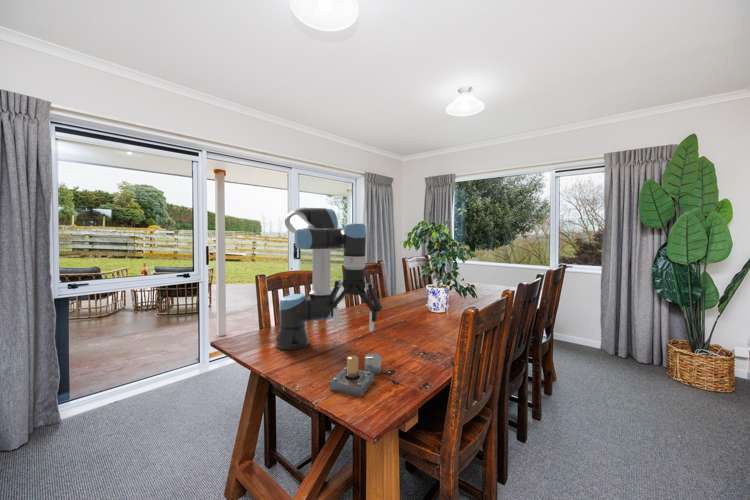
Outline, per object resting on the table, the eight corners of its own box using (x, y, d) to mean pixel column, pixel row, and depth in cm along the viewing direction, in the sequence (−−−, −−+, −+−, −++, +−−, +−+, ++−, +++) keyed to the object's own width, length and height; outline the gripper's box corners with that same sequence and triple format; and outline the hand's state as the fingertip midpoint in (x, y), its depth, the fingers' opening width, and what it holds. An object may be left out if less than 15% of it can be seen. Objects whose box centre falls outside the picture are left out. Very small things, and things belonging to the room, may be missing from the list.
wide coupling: (362, 373, 123) (362, 358, 123) (367, 366, 130) (368, 352, 129) (377, 376, 121) (378, 360, 121) (382, 369, 127) (383, 354, 127)
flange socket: (329, 389, 110) (329, 379, 110) (344, 374, 122) (344, 365, 122) (362, 396, 107) (362, 386, 106) (373, 380, 118) (374, 370, 118)
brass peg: (344, 383, 115) (345, 356, 114) (355, 381, 117) (355, 354, 116) (349, 388, 112) (349, 360, 111) (359, 386, 113) (360, 358, 113)
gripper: (317, 267, 112) (316, 326, 113) (385, 271, 104) (383, 336, 105) (327, 264, 119) (326, 320, 120) (392, 269, 111) (390, 329, 112)
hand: (353, 328), depth 113 cm, fingers open, 13 cm apart
